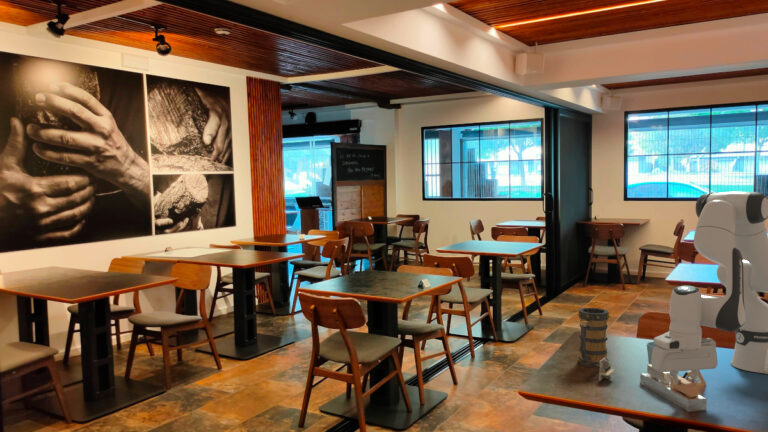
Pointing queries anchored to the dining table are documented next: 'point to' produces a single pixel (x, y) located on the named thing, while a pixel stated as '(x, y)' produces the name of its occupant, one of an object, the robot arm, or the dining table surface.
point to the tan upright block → (686, 387)
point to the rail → (670, 390)
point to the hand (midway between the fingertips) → (684, 383)
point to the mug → (593, 336)
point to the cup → (650, 350)
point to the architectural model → (605, 369)
